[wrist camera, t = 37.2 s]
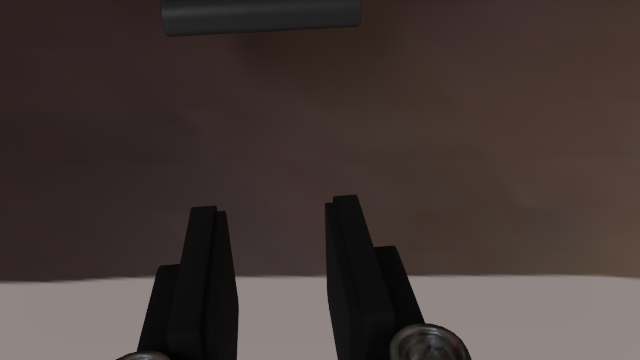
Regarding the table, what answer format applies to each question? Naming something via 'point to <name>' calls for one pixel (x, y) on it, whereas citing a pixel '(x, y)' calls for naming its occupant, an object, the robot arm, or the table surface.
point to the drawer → (256, 15)
